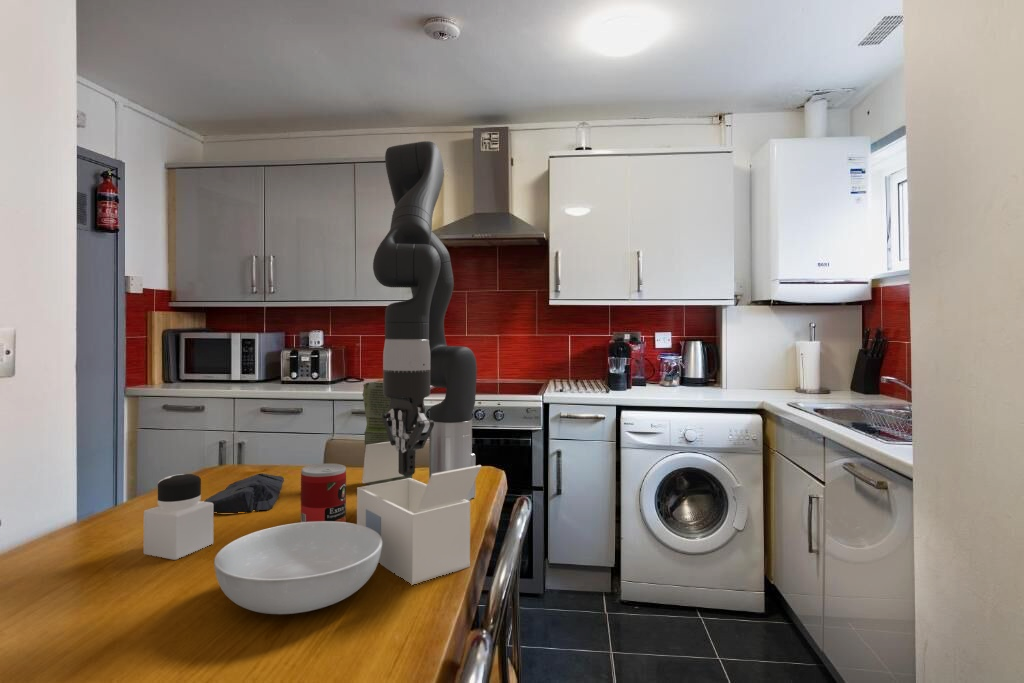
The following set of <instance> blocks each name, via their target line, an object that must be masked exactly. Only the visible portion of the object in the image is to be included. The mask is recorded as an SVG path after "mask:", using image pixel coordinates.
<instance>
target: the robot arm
mask: <svg viewBox="0 0 1024 683" xmlns="http://www.w3.org/2000/svg"><path fill="white" fill-rule="evenodd" d="M384 159H385V160H384V161H385V162H384V163H385V168H386V174H387V179H388V183H389V186H390V191H391V195H392V198H393V202H394V209H393V211H392V215H391V216H392V217H391V222H390V227H389V228H390V229H389V231H388V232H387V234H386V235H385V236H384V238H383V239H382V241H381V242H380V243H379V245H378V247H377V248H376V251H375V254H374V258H373V261H372V262H373V263H372V269H373V275H374V277H375V278H376V280H377V282H378V283H379V284H380V285H382V286H384V287H387V288H406V289H407V288H410V290H411V295H412V298H410V299H407V300H401V301H397V302H396V301H395V302H393V303H389V304H388V305H387V306H386V307H385V313H384V322H385V323H384V339H385V340H384V345H383V346H384V347H383V356H382V361H383V362H382V363H383V364H382V367H383V368H382V377H383V378H382V383H383V395H384V396H385V397H387V398H391V401H390V406H389V407H390V411H389V412H388V413H384V414H383V415H382V419H383V422H384V425H385V428H386V431H387V434H388V437H389V440H390V443H391V445H392V446H393V445H395V446H396V450H397V451H399V469H398V472H399V474H401V475H404V476H408V475H412V476H413V475H415V473H416V454H415V452H417V451H418V450H422V449H424V447H425V445H426V443H427V440H429V442H428V443H429V446H428V447H429V448H428V451H429V452H428V454H429V455H428V457H429V458H428V460H429V462H428V465H429V466H428V480H429V479H430V476H431V474H434V473H439V472H445V471H450V470H456V469H461V468H466V467H472V466H476V461H477V460H476V454H475V453H473V449H472V448H473V444H472V443H473V429H472V428H473V412H474V408H475V404H476V393H477V392H476V391H477V379H478V378H477V377H478V376H477V375H478V374H477V373H478V371H477V370H478V367H477V358H476V356H475V354H474V352H473V351H472V349H471V348H469V347H467V346H461V345H447V340H446V335H445V318H446V317H445V316H446V313H447V310H448V307H449V304H450V302H451V299H452V296H453V292H454V284H455V283H454V282H455V281H454V274H453V267H452V262H451V256H450V252H449V251H448V249H447V247H446V246H445V245H444V243H443V242H442V240H441V239H440V238H439V237H438V236H437V235H436V234H435V233H434V232H433V231H432V224H433V214H434V210H435V207H436V205H437V201H438V199H439V196H440V192H441V190H442V186H443V182H444V177H445V176H444V174H445V172H444V170H445V169H444V162H443V158H442V155H441V151H440V149H439V147H438V146H437V144H436V143H435V142H433V141H428V140H427V141H426V140H425V141H418V142H411V143H405V144H398V145H393V146H389V147H388V148H387V149H386V150H385V154H384ZM431 387H434V388H440V389H441V388H442V389H446V390H445V397H444V399H443V400H442V401H441V402H438V403H437V404H434V405H432V406H431V407H430V408H429V416H428V417H429V419H427V417H426V415H425V413H426V407H425V401H424V399H425V398H427V397H429V396H430V395H431ZM474 498H476V480H475V481H474V484H473V486H472V488H471V490H470V492H469V494H468V496H467V499H466V500H468V501H470V500H472V499H474Z"/></svg>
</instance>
